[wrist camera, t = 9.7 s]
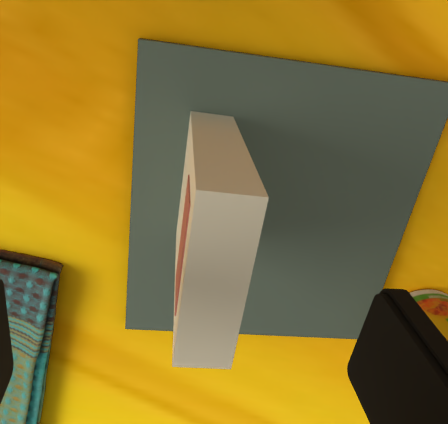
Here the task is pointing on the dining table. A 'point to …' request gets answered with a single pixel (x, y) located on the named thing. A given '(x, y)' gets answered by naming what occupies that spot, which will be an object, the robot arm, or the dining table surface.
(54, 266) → the dish towel
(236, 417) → the dining table surface
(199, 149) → the card box
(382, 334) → the robot arm
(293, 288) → the mat
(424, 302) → the supplement bottle
